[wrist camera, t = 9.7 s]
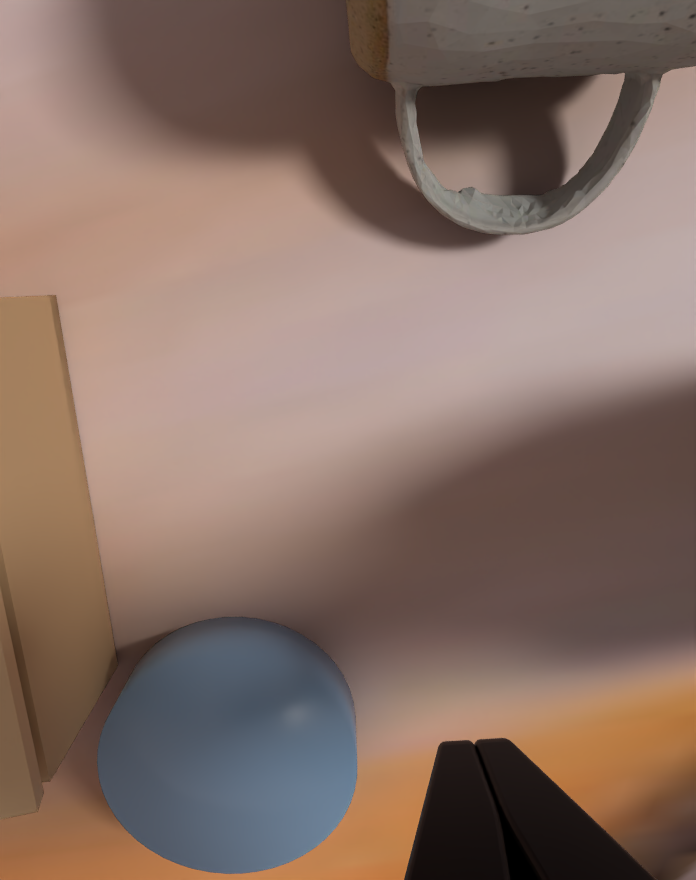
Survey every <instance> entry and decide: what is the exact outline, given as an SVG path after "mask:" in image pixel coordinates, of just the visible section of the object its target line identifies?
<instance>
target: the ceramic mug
mask: <svg viewBox="0 0 696 880" xmlns="http://www.w3.org/2000/svg"><path fill="white" fill-rule="evenodd" d="M346 8H347V17H348V26H349V40H350V48H351V53H352V55H353V57H354V59H355V60H356V62H357V64H358V65H359V66H360V67H361V68H362V69H363V70H364V71H365V72H367V73H368V74H369V75H370V76H371V77H372V78H375V79H379V80H382V81H386V82H389V83H391V85H392V86H393V88H394V89H395V103H396V108H395V114H396V121H397V126H398V131H399V135H400V140H401V144H402V147H403V150H404V154H405V157H406V161H407V164H408V167H409V169H410V172H411V174H412V177H413V179H414V181H415V183H416V185H417V187H418V188H419V190H420V191H421V192H422V194H423V195H424V197H425V198H426V199H427V201H428V202H429V203H430V204H431V205H432V206H433V207H434V208H435V209H436V210H437V211H438V212H439V213H440V214H441V215H443V216H445V217H446V218H448V219H449V220H451V221H453V222H454V223H456V224H458V225H460V226H462V227H463V228H465V229H470V230H475V231H477V232H479V233H487V234H498V235H504V234H528V233H533V232H538V231H542V230H546V229H550V228H553V227H555V226H558V225H560V224H562V223H564V222H566V221H567V220H569V219H571V218H573V217H574V216H576V215H577V214H578V213H580V212H581V211H582V210H583V209H585V208H586V207H587V206H588V205H589V204H590V203H591V202H592V201H593V200H594V199H595V198H597V197H598V196H599V195H600V194H601V193H602V192H603V191H604V190H605V189H606V188H607V187H608V185H609V184H610V183H611V181H612V180H613V178H614V177H615V176H616V175H617V174H618V173H619V171H620V170H621V168H622V167H623V165H624V163H625V162H626V160H627V158H628V157H629V155H630V153H631V151H632V150H633V148H634V146H635V145H636V143H637V141H638V139H639V137H640V134H641V132H642V130H643V127H644V125H645V123H646V120H647V118H648V116H649V114H650V111H651V109H652V106H653V102H654V99H655V96H656V94H657V92H658V89H659V87H660V81H661V78H662V75H663V74H664V73H666V72H668V71H670V70H672V69H678V68H685V67H692V66H696V0H346ZM619 73H625V79H624V83H623V85H622V89H621V92H620V96H619V99H618V102H617V105H616V108H615V110H614V112H613V115H612V117H611V120H610V122H609V124H608V126H607V128H606V130H605V132H604V134H603V136H602V138H601V140H600V142H599V143H598V145H597V147H596V149H595V151H594V153H593V154H592V156H591V157H590V158H589V159H588V161H587V162H586V163H585V165H584V166H583V167H582V168H581V169H580V170H579V172H578V174H576V175H575V176H574V177H573V178H571V179H570V180H569V181H568V182H567V183H566V184H565V185H563V186H561V187H560V188H558V189H555V190H550V191H548V192H546V193H545V194H543V195H506V196H502V195H491V194H483V193H480V192H479V191H478V190H477V189H475V188H473V187H469V188H464V189H462V190H461V191H459V192H456V191H453V190H447V189H446V188H444V187H443V186H442V185H441V184H440V183H439V181H438V180H437V179H436V177H435V176H434V174H433V173H432V172H431V170H430V169H429V168H428V167H427V165H426V164H425V162H424V160H423V154H422V149H421V144H420V139H419V134H418V129H417V124H416V117H417V112H416V106H415V100H416V96H417V92H418V90H419V89H420V88H421V87H422V86H441V85H452V84H463V83H475V82H487V81H499V80H503V79H508V78H523V77H544V76H546V77H564V76H591V75H597V74H619Z"/></svg>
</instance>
